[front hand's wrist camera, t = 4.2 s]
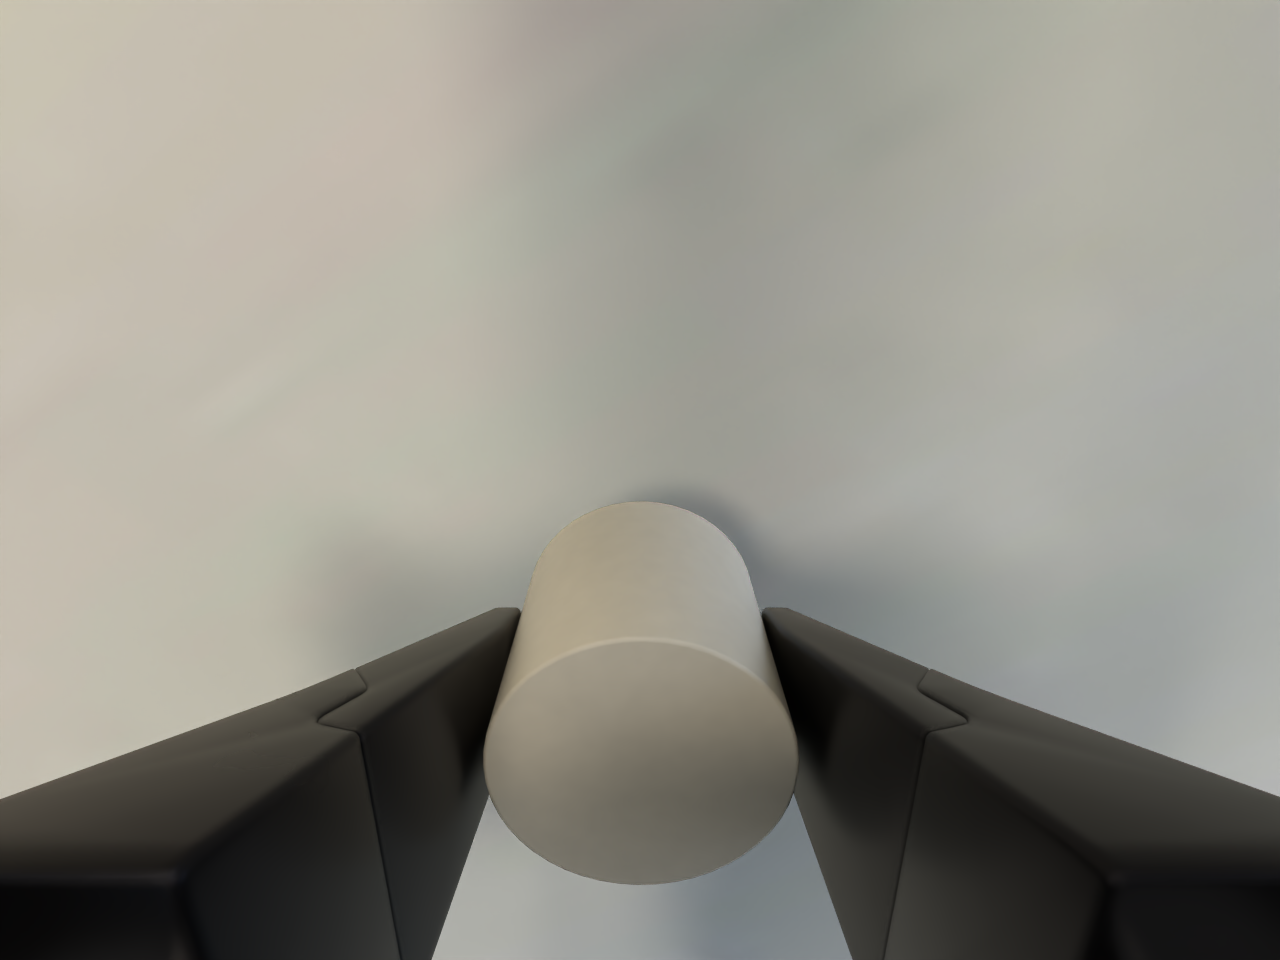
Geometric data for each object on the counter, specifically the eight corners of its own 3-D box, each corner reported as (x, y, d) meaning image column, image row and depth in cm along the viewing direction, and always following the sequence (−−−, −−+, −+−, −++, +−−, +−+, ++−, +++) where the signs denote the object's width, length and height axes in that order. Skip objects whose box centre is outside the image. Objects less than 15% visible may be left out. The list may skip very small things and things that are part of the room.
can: (563, 710, 13) (534, 908, 10) (501, 527, 12) (436, 675, 8) (769, 669, 13) (821, 858, 9) (728, 477, 12) (771, 607, 8)
